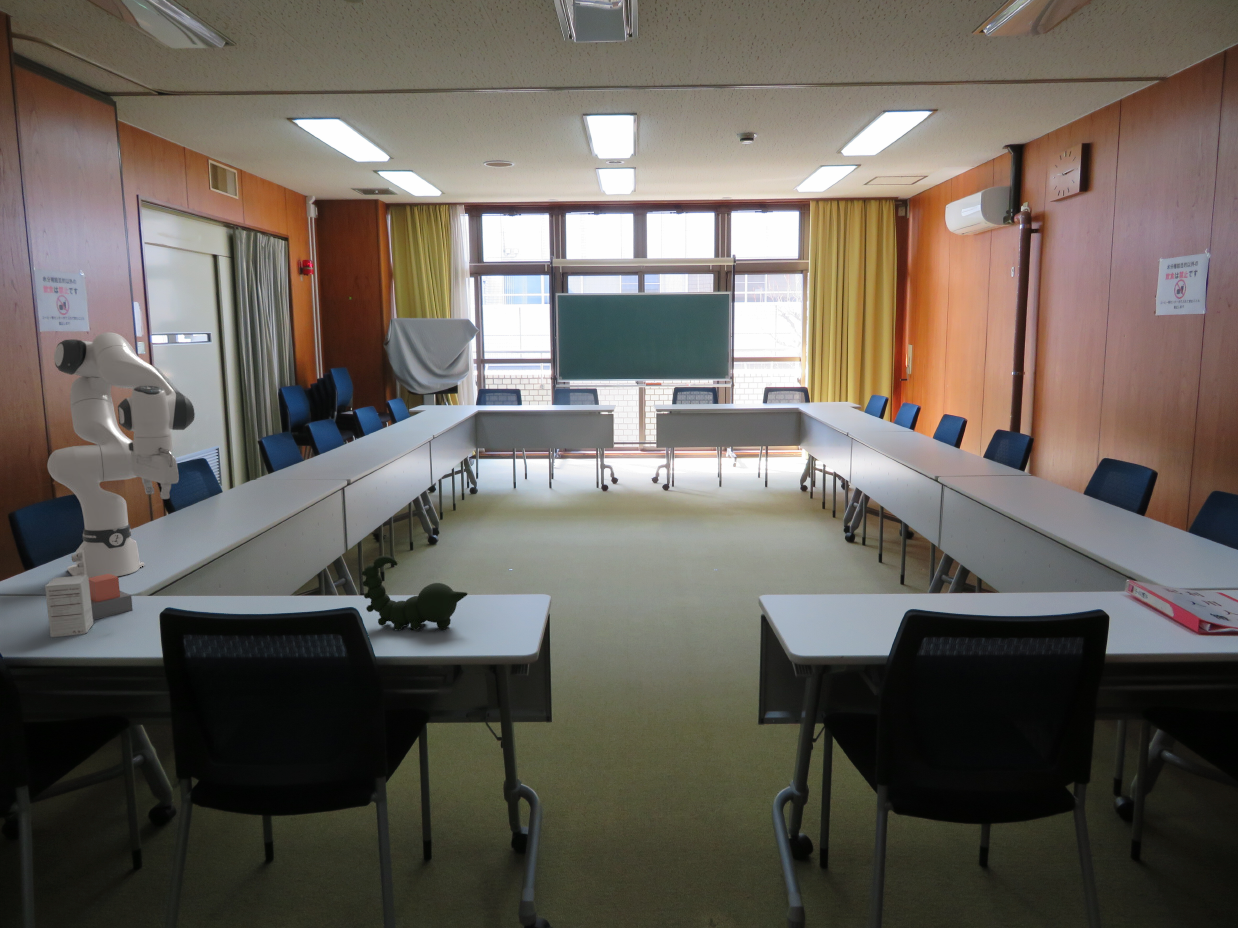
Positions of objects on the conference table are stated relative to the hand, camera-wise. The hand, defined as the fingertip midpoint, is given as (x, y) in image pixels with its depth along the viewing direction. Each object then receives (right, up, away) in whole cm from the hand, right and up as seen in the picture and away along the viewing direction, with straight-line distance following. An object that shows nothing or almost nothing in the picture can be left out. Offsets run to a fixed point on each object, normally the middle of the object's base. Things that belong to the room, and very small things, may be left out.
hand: (157, 496), depth 219 cm
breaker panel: (-8, -29, -12) cm, 33 cm away
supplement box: (-5, -32, -27) cm, 42 cm away
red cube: (-5, -25, -15) cm, 30 cm away
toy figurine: (+78, -31, -25) cm, 87 cm away
